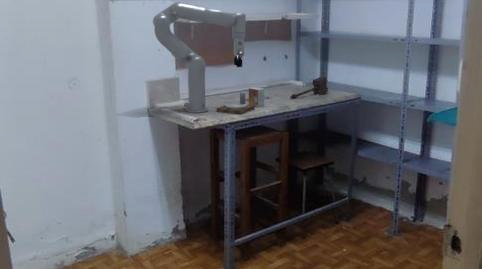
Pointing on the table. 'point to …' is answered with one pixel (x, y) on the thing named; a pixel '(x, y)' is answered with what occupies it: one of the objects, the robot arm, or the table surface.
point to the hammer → (315, 87)
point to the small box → (256, 97)
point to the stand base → (235, 111)
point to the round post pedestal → (237, 103)
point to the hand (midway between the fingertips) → (238, 66)
